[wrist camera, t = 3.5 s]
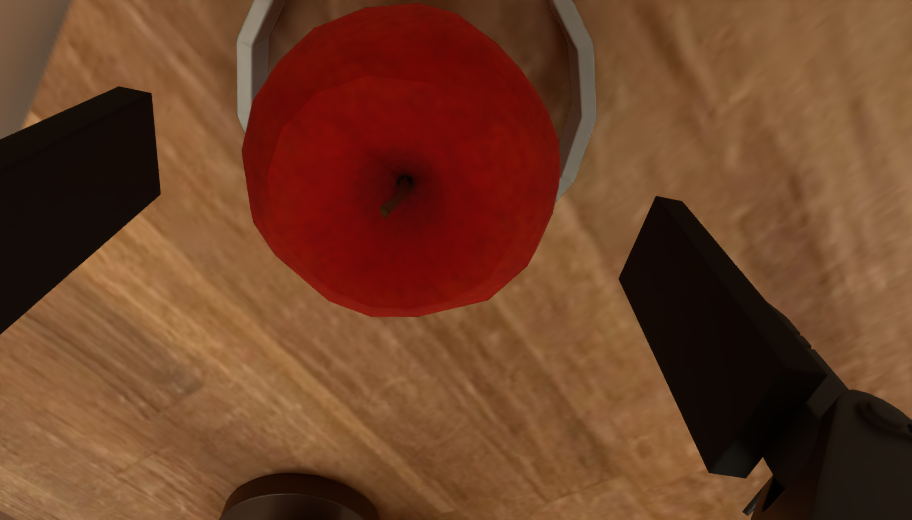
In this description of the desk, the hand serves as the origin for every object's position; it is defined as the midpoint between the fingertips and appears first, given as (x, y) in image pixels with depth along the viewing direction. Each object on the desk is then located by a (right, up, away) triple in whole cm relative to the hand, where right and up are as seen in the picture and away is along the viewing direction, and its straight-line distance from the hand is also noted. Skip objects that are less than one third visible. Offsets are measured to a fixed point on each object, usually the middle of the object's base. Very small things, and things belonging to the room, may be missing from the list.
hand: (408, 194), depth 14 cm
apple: (0, +5, +8) cm, 10 cm away
